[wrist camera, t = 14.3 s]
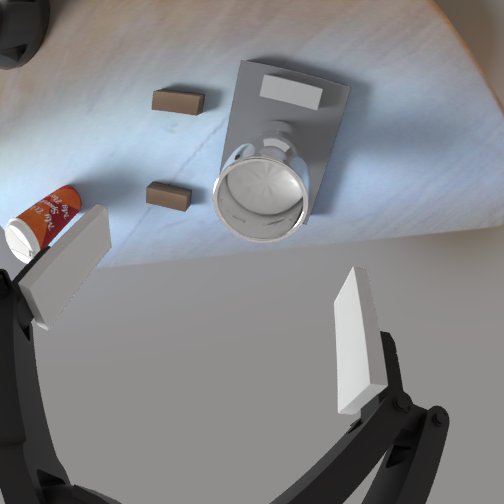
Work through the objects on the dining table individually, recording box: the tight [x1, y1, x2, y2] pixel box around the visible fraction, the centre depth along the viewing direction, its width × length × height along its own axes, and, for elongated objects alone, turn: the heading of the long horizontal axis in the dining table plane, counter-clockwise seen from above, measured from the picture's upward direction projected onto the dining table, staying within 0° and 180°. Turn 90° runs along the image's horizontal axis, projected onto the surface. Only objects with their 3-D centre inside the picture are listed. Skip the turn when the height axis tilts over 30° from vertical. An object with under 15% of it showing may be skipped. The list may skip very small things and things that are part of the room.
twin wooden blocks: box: [146, 90, 205, 212], centre depth 35 cm, size 16×6×2 cm, turn 168°
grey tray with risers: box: [219, 60, 351, 225], centre depth 32 cm, size 18×12×4 cm, turn 168°
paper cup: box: [5, 186, 81, 263], centre depth 38 cm, size 8×8×14 cm
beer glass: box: [213, 121, 310, 243], centre depth 26 cm, size 7×7×15 cm
